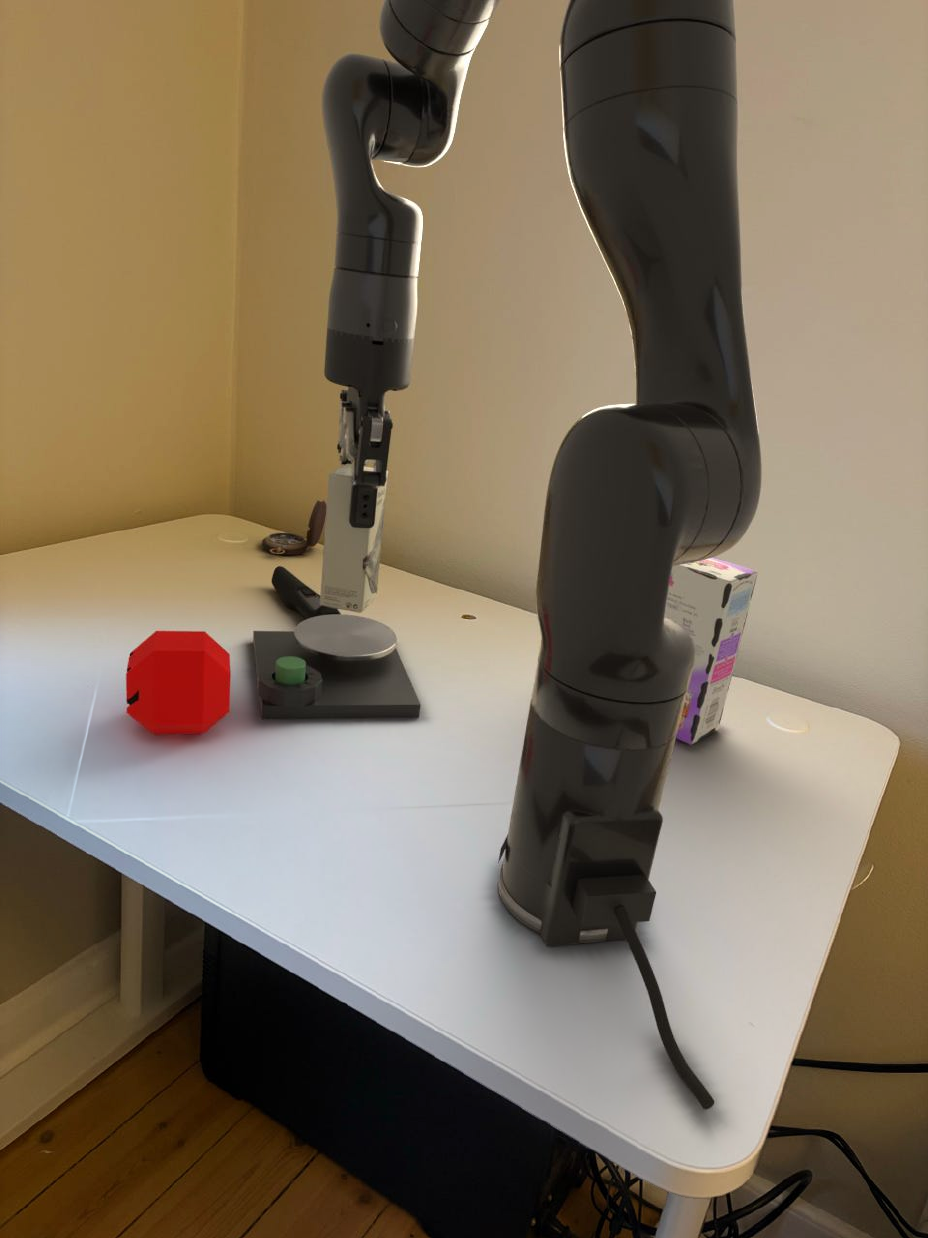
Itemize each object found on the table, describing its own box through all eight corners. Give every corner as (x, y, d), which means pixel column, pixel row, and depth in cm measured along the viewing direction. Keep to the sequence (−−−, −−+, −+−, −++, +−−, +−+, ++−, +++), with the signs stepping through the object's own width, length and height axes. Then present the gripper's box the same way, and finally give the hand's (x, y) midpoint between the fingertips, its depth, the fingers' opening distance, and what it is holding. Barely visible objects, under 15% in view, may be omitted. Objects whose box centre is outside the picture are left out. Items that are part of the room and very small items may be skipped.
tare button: (306, 686, 81) (307, 668, 80) (276, 687, 80) (277, 668, 79) (303, 673, 83) (304, 656, 82) (274, 673, 82) (274, 655, 81)
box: (362, 615, 86) (374, 481, 81) (317, 606, 86) (326, 472, 81) (378, 596, 90) (390, 468, 86) (335, 588, 91) (345, 461, 86)
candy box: (720, 730, 89) (762, 570, 82) (690, 748, 84) (731, 581, 78) (604, 676, 97) (634, 526, 91) (570, 690, 93) (599, 534, 86)
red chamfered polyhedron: (132, 701, 80) (131, 620, 77) (227, 700, 82) (229, 621, 79) (124, 748, 73) (123, 661, 70) (229, 746, 75) (231, 662, 72)
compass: (269, 538, 125) (271, 486, 122) (326, 547, 124) (329, 495, 122) (250, 556, 117) (252, 501, 115) (311, 565, 117) (314, 510, 114)
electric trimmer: (294, 588, 110) (295, 563, 108) (349, 637, 98) (351, 610, 97) (263, 591, 108) (264, 565, 106) (316, 642, 96) (318, 613, 95)
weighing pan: (405, 662, 87) (405, 656, 87) (298, 661, 84) (298, 655, 84) (386, 620, 96) (387, 614, 96) (289, 618, 93) (289, 613, 93)
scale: (419, 719, 83) (423, 690, 82) (258, 721, 79) (260, 691, 78) (388, 644, 97) (390, 618, 96) (250, 643, 93) (251, 616, 92)
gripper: (318, 314, 84) (307, 492, 90) (338, 333, 71) (324, 538, 78) (398, 323, 86) (382, 496, 93) (432, 343, 74) (410, 542, 80)
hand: (355, 515), depth 85 cm, fingers closed on box, 6 cm apart
